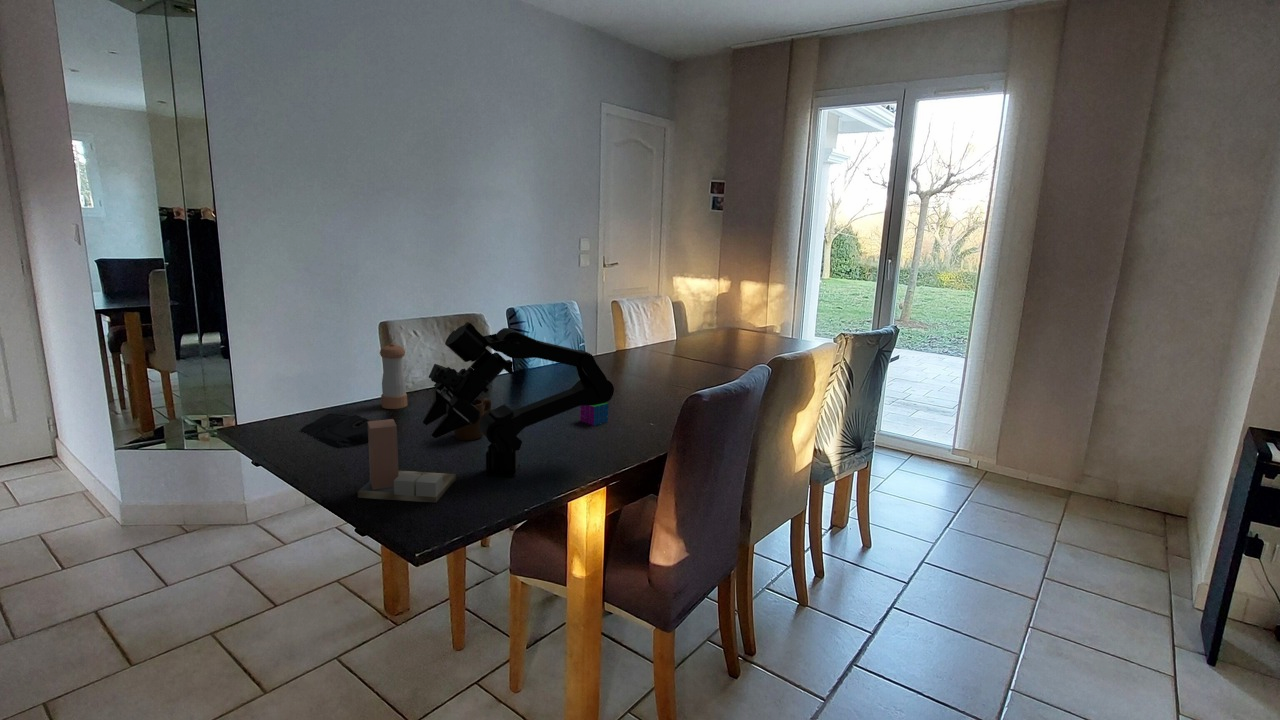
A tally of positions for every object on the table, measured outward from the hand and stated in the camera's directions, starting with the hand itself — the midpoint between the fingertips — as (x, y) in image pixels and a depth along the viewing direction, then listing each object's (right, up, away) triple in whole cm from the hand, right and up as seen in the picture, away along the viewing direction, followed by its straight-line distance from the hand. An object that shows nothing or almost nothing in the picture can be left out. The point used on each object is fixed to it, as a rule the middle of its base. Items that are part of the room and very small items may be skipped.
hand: (428, 430), depth 132 cm
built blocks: (0, -12, -5) cm, 13 cm away
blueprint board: (-4, -12, -1) cm, 13 cm away
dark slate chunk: (-32, -5, +31) cm, 45 cm away
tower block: (-8, -11, -2) cm, 14 cm away
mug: (+1, -5, +34) cm, 35 cm away
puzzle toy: (+31, -3, +50) cm, 59 cm away
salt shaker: (-29, +1, +56) cm, 63 cm away
